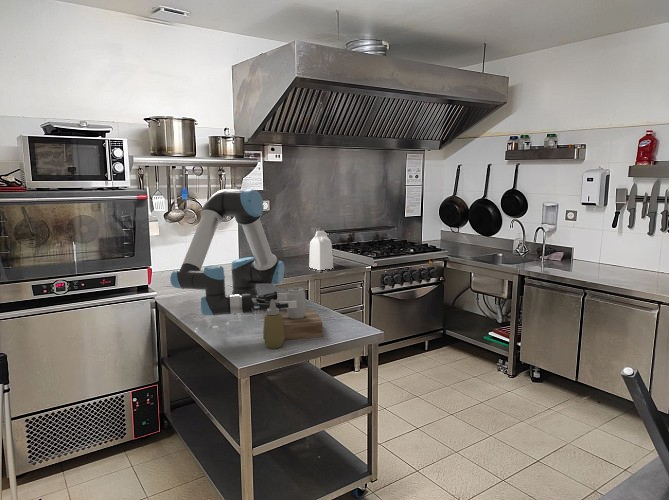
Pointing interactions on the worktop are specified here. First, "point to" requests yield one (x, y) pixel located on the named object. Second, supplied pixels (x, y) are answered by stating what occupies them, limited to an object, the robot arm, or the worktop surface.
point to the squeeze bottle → (273, 327)
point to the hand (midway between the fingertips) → (294, 299)
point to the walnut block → (302, 326)
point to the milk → (320, 252)
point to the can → (298, 296)
